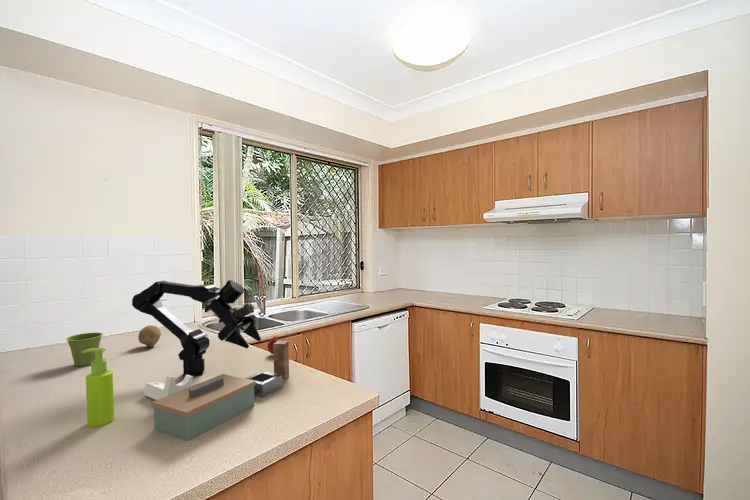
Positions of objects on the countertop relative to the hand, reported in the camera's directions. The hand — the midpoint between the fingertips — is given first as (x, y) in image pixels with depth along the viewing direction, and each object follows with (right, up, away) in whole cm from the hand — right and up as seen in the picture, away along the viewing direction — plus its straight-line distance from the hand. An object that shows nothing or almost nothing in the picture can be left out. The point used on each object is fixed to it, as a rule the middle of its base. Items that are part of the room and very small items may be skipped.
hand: (254, 343), depth 137 cm
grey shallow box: (+6, -12, -12) cm, 18 cm away
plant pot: (-73, -12, +16) cm, 75 cm away
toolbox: (-2, -13, -28) cm, 31 cm away
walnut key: (+10, -12, -1) cm, 15 cm away
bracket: (-22, -13, -16) cm, 30 cm away
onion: (+1, -11, +25) cm, 27 cm away
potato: (-61, -11, +40) cm, 73 cm away
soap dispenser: (-32, -13, -33) cm, 48 cm away
